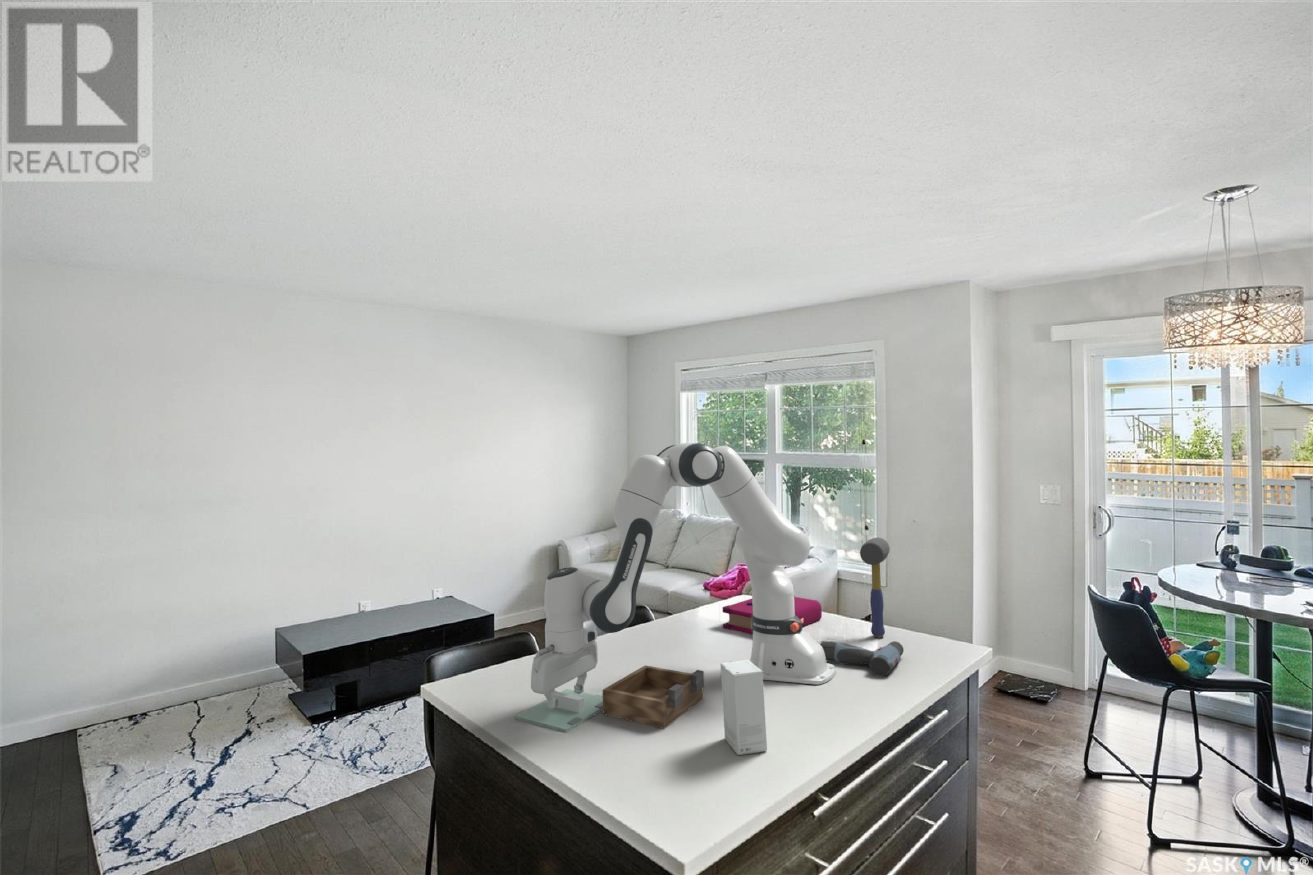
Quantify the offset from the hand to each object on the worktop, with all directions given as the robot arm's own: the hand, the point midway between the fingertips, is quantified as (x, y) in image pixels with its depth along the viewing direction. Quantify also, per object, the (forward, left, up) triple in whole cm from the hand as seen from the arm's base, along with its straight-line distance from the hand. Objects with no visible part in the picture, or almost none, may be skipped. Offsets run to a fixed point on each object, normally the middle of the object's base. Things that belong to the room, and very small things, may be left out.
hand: (566, 699), depth 147 cm
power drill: (-52, -63, -3) cm, 82 cm away
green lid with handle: (0, 0, -3) cm, 3 cm away
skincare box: (-43, -3, -3) cm, 43 cm away
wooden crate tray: (-17, -11, -2) cm, 20 cm away
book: (-17, -87, -3) cm, 89 cm away
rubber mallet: (-51, -87, -2) cm, 101 cm away
